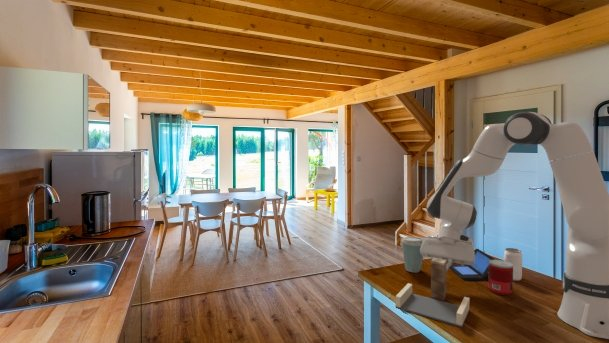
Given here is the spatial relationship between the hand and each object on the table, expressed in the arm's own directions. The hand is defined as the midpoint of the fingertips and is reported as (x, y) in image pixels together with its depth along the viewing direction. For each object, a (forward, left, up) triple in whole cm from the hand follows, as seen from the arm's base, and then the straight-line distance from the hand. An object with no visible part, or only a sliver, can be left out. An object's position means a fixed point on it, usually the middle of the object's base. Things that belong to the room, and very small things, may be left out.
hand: (443, 269), depth 122 cm
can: (-21, -29, -8) cm, 36 cm away
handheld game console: (-6, -24, -9) cm, 26 cm away
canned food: (-18, -12, -8) cm, 23 cm away
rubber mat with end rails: (-1, +18, -8) cm, 20 cm away
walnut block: (0, +7, -8) cm, 11 cm away
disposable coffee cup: (+16, -14, -8) cm, 23 cm away
